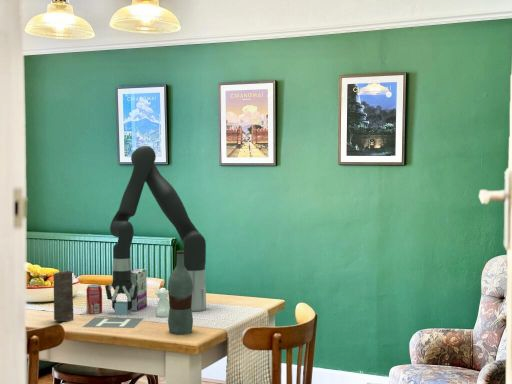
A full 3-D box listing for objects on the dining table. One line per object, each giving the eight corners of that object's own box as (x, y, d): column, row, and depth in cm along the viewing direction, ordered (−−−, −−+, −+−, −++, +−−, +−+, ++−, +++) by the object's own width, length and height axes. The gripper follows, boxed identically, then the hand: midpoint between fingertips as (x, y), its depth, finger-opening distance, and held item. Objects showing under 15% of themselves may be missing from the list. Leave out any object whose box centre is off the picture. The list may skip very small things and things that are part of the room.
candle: (62, 324, 256) (62, 273, 255) (49, 322, 260) (49, 271, 259) (77, 320, 262) (77, 270, 262) (64, 318, 266) (64, 269, 266)
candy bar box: (136, 305, 291) (136, 268, 291) (147, 306, 290) (147, 269, 290) (126, 311, 280) (126, 272, 280) (137, 311, 279) (137, 272, 279)
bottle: (163, 333, 242) (162, 251, 241) (175, 327, 251) (174, 249, 250) (186, 335, 239) (186, 253, 238) (197, 329, 247) (197, 250, 246)
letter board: (144, 319, 264) (144, 318, 264) (134, 329, 248) (134, 327, 248) (94, 319, 265) (94, 317, 265) (81, 328, 249) (81, 327, 249)
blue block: (129, 313, 275) (129, 301, 275) (126, 316, 270) (126, 304, 270) (117, 313, 275) (117, 301, 275) (114, 315, 270) (114, 303, 270)
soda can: (88, 316, 270) (87, 287, 270) (85, 313, 276) (85, 284, 276) (103, 314, 273) (103, 286, 272) (100, 311, 279) (100, 283, 278)
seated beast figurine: (178, 315, 273) (178, 286, 272) (171, 319, 264) (171, 289, 264) (157, 314, 275) (156, 285, 274) (149, 318, 266) (149, 289, 266)
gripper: (141, 267, 275) (141, 308, 276) (107, 267, 276) (107, 307, 277) (136, 270, 268) (137, 311, 268) (102, 270, 269) (102, 311, 269)
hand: (122, 309), depth 273 cm, fingers open, 5 cm apart
